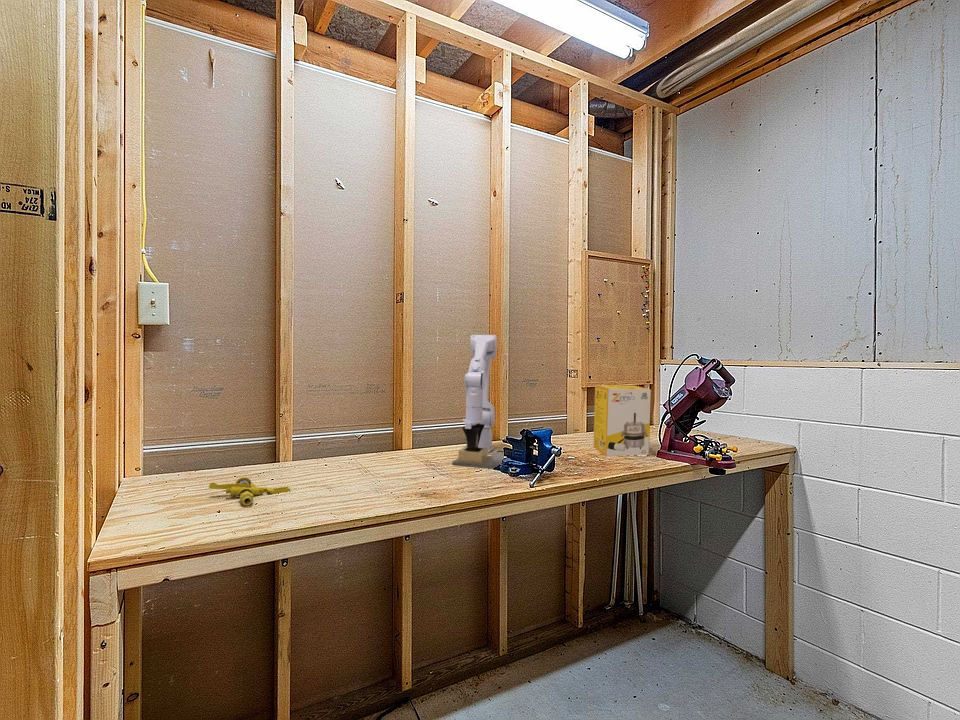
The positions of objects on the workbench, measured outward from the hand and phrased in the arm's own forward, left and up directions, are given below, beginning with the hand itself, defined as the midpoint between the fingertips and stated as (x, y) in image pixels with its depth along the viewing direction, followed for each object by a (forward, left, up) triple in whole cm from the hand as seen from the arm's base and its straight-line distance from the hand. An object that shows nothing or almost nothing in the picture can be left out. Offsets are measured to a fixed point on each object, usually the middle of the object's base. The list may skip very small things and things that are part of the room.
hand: (473, 446), depth 171 cm
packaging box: (-37, +49, -6) cm, 61 cm away
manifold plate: (0, +4, -5) cm, 6 cm away
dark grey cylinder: (0, 0, -3) cm, 3 cm away
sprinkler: (+56, -43, -6) cm, 71 cm away
